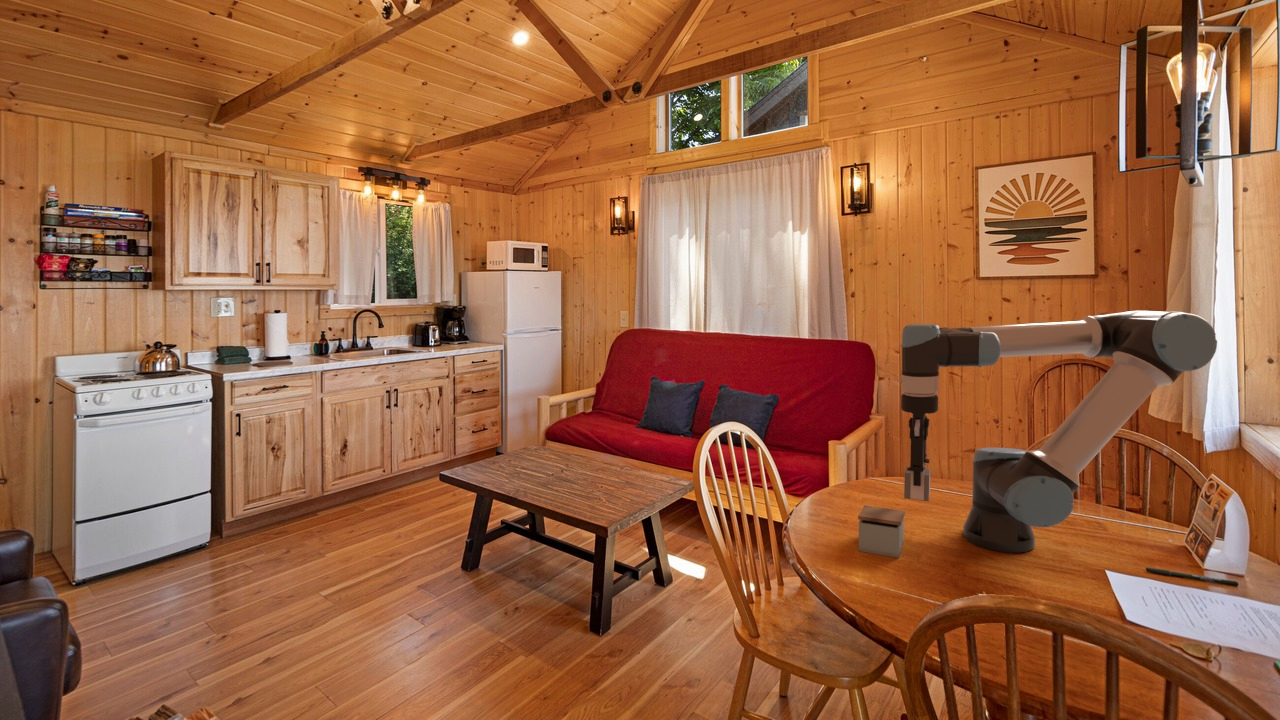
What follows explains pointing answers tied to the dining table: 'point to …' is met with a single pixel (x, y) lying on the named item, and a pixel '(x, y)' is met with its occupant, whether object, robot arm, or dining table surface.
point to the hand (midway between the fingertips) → (918, 494)
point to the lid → (881, 515)
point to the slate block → (926, 484)
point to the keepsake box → (881, 538)
